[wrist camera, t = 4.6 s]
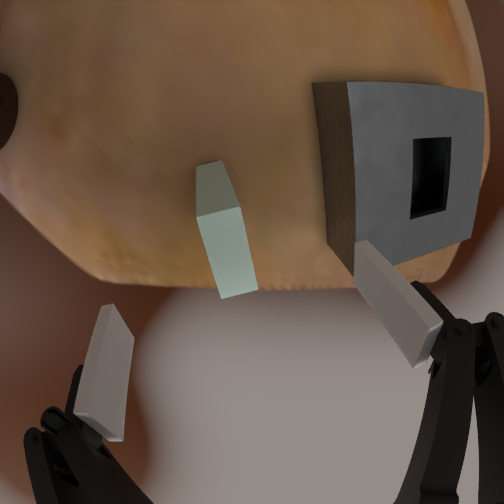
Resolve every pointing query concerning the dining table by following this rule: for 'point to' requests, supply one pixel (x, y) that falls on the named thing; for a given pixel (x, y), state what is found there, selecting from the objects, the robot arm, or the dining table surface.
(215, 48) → the dining table surface
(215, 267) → the pale green flat block
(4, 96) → the olive oil
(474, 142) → the grey slotted box
